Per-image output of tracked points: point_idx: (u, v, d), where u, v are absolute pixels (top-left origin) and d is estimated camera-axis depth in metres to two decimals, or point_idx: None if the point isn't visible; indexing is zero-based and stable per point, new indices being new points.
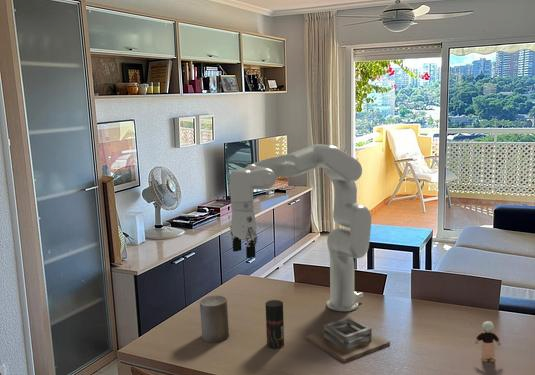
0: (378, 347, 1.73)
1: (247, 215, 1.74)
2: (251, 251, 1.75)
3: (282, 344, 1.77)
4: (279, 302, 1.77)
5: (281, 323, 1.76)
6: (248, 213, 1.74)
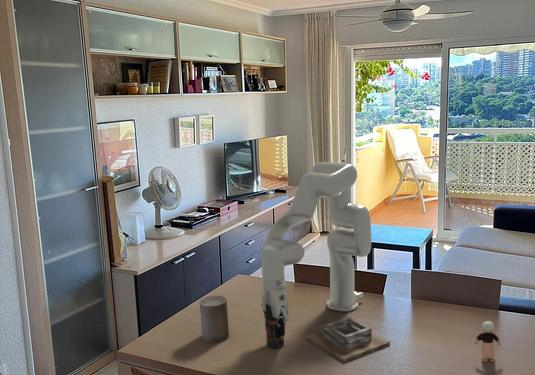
0: (378, 347, 1.73)
1: (279, 293, 1.71)
2: (281, 330, 1.74)
3: (282, 344, 1.77)
4: None
5: None
6: (280, 291, 1.72)
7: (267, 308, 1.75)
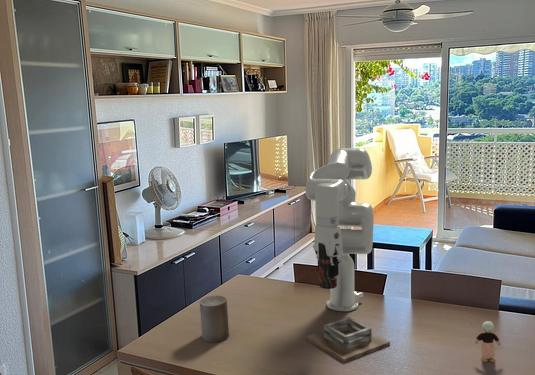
0: (378, 347, 1.73)
1: (334, 231, 1.68)
2: (335, 269, 1.71)
3: (335, 284, 1.74)
4: None
5: None
6: (335, 229, 1.68)
7: (320, 247, 1.71)
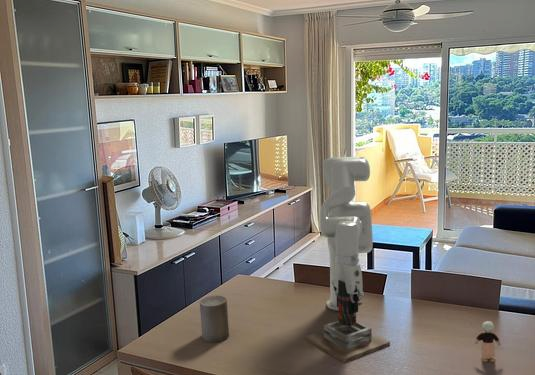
0: (378, 347, 1.73)
1: (354, 269, 1.70)
2: (355, 307, 1.73)
3: (355, 321, 1.76)
4: None
5: None
6: (355, 267, 1.70)
7: (340, 284, 1.74)
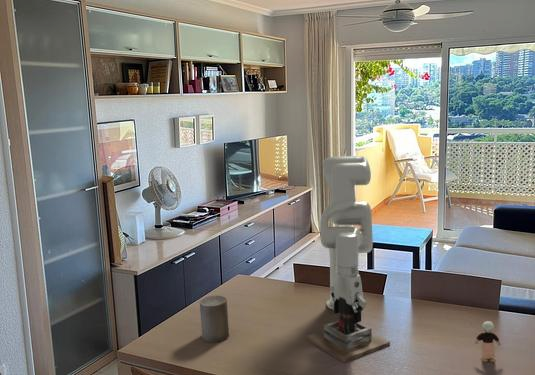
0: (378, 347, 1.73)
1: (354, 280, 1.71)
2: (358, 316, 1.72)
3: None
4: None
5: None
6: (355, 278, 1.71)
7: (341, 302, 1.75)
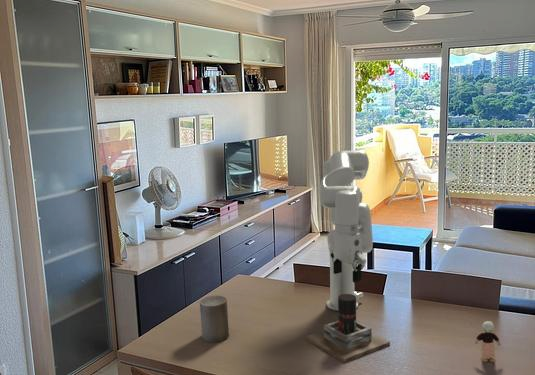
0: (378, 347, 1.73)
1: (354, 238, 1.69)
2: (358, 275, 1.70)
3: None
4: (352, 296, 1.77)
5: (354, 317, 1.76)
6: (355, 236, 1.69)
7: (341, 302, 1.75)
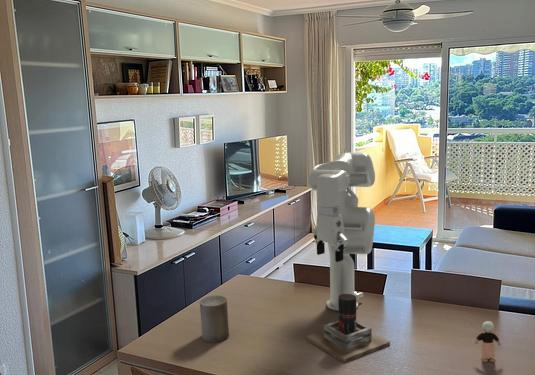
0: (378, 347, 1.73)
1: (336, 220, 1.76)
2: (340, 255, 1.77)
3: None
4: (352, 295, 1.77)
5: (354, 317, 1.76)
6: (337, 218, 1.76)
7: (341, 302, 1.75)
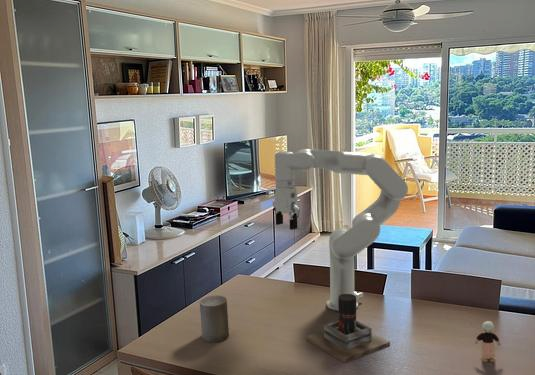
0: (378, 347, 1.73)
1: (290, 191, 1.98)
2: (294, 223, 1.99)
3: None
4: (352, 295, 1.77)
5: (354, 317, 1.76)
6: (291, 190, 1.98)
7: (341, 302, 1.75)
